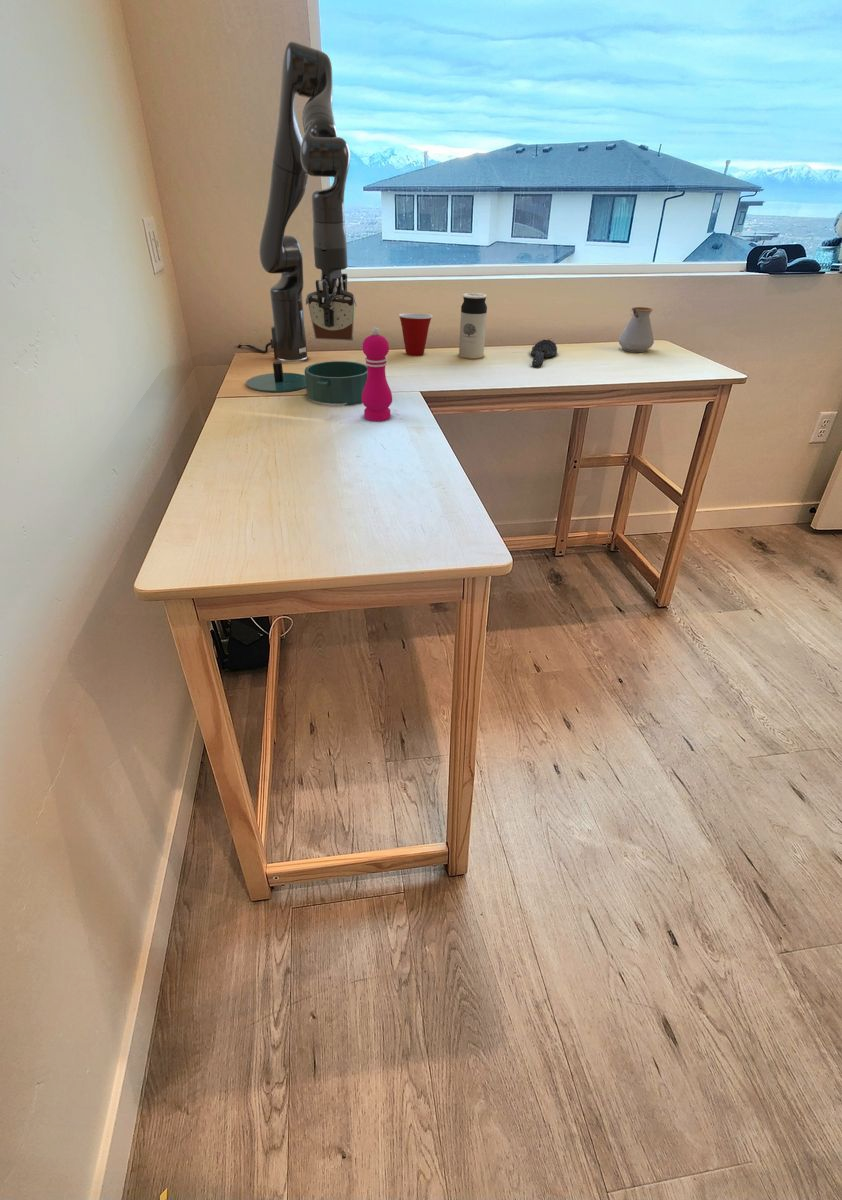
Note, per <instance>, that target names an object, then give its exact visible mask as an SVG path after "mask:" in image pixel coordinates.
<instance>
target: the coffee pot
mask: <svg viewBox="0 0 842 1200" xmlns="http://www.w3.org/2000/svg"><path fill="white" fill-rule="evenodd" d="M631 311H632V314H631V318H630V320H629V321H628V323H627V325H626V326H625V328H624V330H623V331H622V333H621V334H620V336H619V338H618V343H619V346H620V347H621V348H622V350H623V351H625V352H629V353H645V352H647V350H649V349H651V348H652V346H653V345H654V343H655V341H654V335H653V330H652V324H651V319H650V316H651V313H652V312H653V311H654V310H653V308H650V307H644V306H643V307H642V306H636V307H631Z"/></svg>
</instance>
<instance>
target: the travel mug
mask: <svg viewBox="0 0 842 1200" xmlns="http://www.w3.org/2000/svg"><path fill="white" fill-rule="evenodd" d="M462 298H463V302H462V303H461V306H460V322H459V323H460V325H459V326H460V327H459V344H458V356H459V357H461V358H463V359H467V360H477V359H482V358H483V357H484V355H485V342H486V328H487V313H488V305H487V303H486V299H487V298H488V295H487V294H485V293H480V292H467V293H463V294H462Z"/></svg>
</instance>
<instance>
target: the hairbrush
mask: <svg viewBox="0 0 842 1200" xmlns="http://www.w3.org/2000/svg"><path fill="white" fill-rule="evenodd" d="M551 339H552V338H548V339H545V337H543V339H541V338H540V339H538V341H536V342H534V344H533V345H532V346H531V351H530V355H531V356H532V361H531V365H532V367H533V368H540V367H542V365H543V363H544V359H545V358H554V357H556V356H557V354H558V346H557V344H556V343H555V342H554V341H553V339H552V340H551Z"/></svg>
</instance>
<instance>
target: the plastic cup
mask: <svg viewBox="0 0 842 1200" xmlns="http://www.w3.org/2000/svg"><path fill="white" fill-rule="evenodd" d="M398 317H399V321H400V324H401V325H400V326H401V329H402V330H401V331H402V336H403V344H404V350H405V354H406V355H407V356H409V357H420V356H423V355H424V353H425V350H426V344H427V339H428V335H429V329H430V323H431V320H432V318H433V315H432V314H427V313H425V314H424V313H398Z"/></svg>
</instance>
